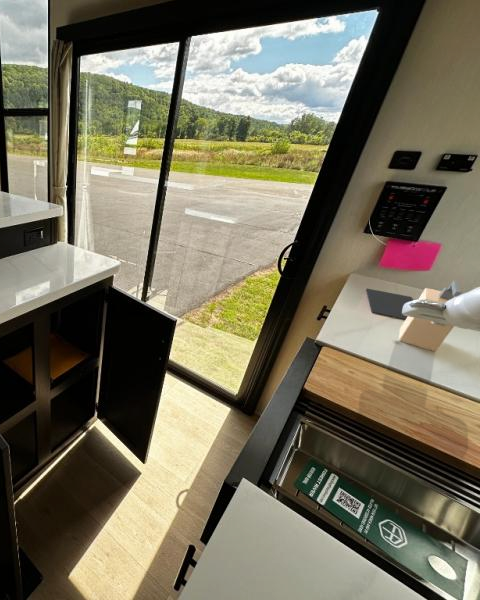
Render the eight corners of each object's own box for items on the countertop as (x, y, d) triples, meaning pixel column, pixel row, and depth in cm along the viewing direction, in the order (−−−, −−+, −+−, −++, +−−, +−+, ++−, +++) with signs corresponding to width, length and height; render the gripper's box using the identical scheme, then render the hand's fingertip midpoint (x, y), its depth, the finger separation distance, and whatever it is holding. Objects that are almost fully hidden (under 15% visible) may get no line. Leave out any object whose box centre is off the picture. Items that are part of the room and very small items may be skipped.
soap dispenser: (399, 328, 109) (435, 271, 97) (434, 338, 104) (477, 279, 92) (398, 347, 101) (437, 287, 89) (435, 358, 96) (482, 297, 84)
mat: (411, 298, 124) (411, 296, 124) (423, 324, 110) (423, 322, 110) (366, 289, 131) (366, 288, 131) (371, 312, 117) (372, 311, 116)
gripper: (413, 311, 86) (390, 322, 99) (525, 334, 77) (484, 343, 89) (418, 290, 87) (394, 303, 99) (530, 310, 78) (488, 322, 90)
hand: (437, 322), depth 94 cm, fingers closed
